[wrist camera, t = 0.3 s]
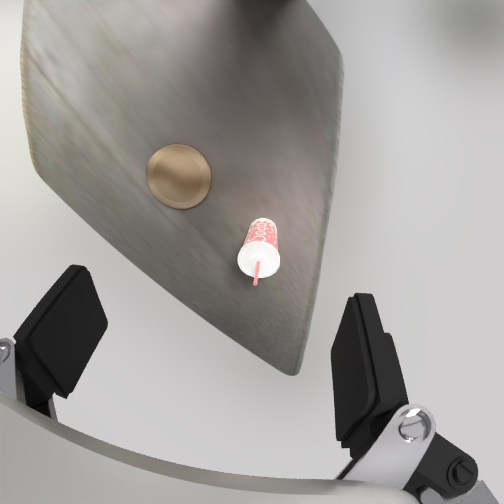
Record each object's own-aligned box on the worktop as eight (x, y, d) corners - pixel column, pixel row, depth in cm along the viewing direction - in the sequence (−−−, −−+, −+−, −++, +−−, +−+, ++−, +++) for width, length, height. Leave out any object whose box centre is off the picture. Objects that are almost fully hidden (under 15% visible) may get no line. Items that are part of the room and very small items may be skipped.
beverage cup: (285, 218, 48) (284, 271, 36) (276, 248, 51) (272, 305, 40) (248, 210, 47) (235, 260, 36) (242, 241, 51) (228, 296, 39)
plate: (145, 144, 42) (142, 146, 42) (210, 143, 42) (209, 145, 41) (152, 205, 49) (150, 207, 48) (212, 208, 48) (211, 210, 47)
